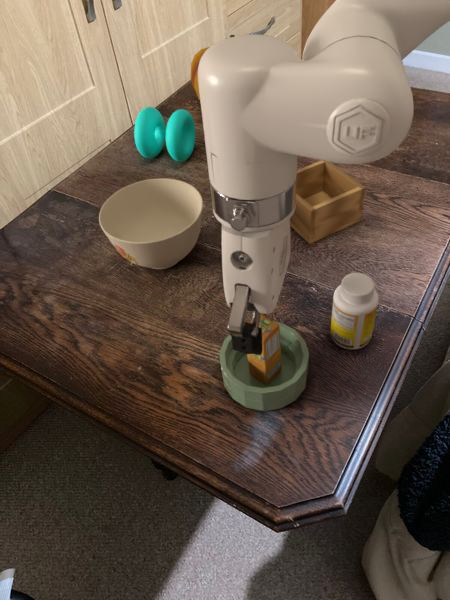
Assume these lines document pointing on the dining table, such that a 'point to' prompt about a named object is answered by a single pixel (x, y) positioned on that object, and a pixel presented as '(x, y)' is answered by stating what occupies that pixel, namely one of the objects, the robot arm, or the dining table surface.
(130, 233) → the bowl
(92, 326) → the dining table surface
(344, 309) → the supplement bottle
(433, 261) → the dining table surface
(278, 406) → the green bowl
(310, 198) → the wooden holder
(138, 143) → the turquoise yo-yo
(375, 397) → the dining table surface
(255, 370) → the supplement box
